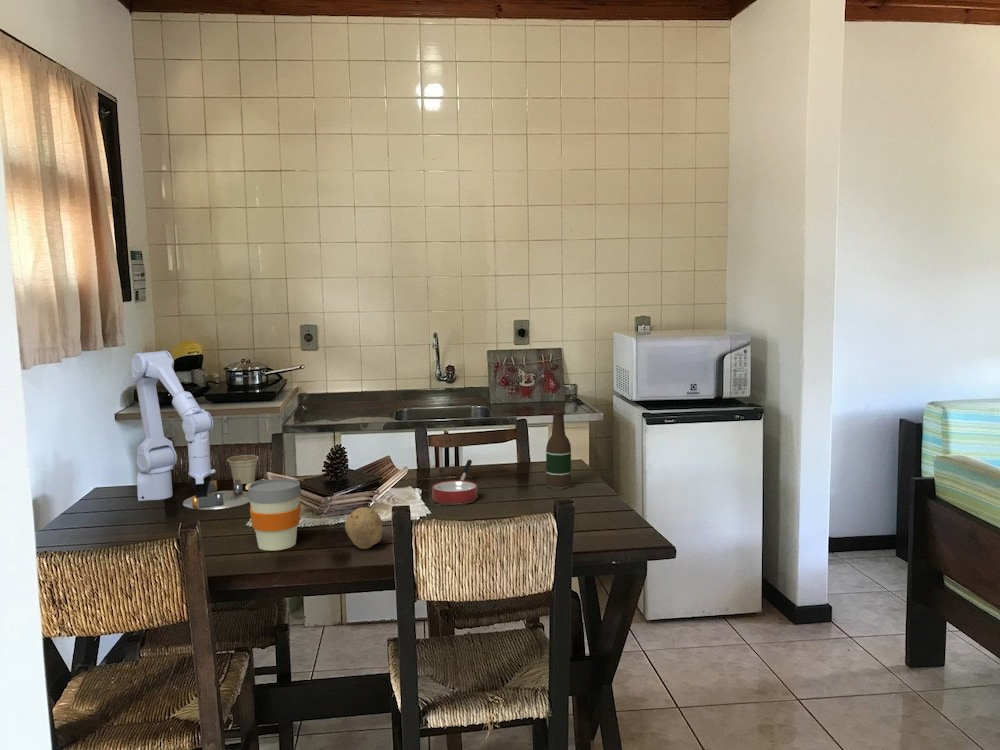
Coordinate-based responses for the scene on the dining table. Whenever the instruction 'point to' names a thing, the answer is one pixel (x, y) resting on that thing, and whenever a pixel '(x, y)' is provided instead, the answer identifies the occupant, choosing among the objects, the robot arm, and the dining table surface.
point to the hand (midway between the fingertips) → (201, 502)
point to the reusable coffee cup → (275, 512)
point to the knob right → (237, 487)
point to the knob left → (212, 487)
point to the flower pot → (243, 467)
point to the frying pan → (455, 489)
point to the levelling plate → (228, 498)
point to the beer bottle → (558, 453)
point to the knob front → (207, 500)
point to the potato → (364, 527)
